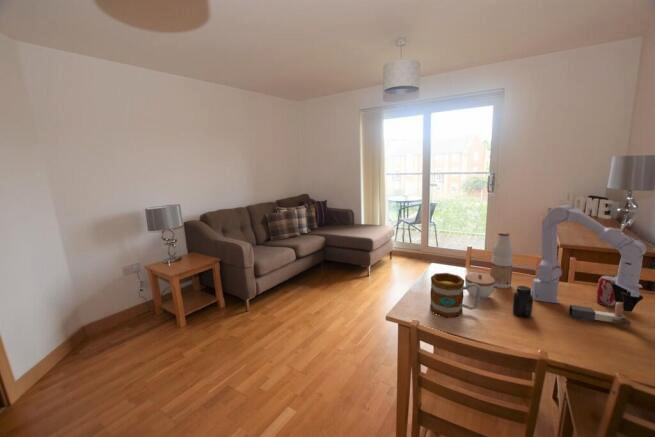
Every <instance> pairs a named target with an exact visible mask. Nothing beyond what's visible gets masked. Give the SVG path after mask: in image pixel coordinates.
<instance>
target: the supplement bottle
mask: <svg viewBox="0 0 655 437" xmlns="http://www.w3.org/2000/svg"><path fill="white" fill-rule="evenodd" d="M531 290H532V288H531V287H529V286H525V285H517V286H516V292H514V293H513V300H512V314H513V315H514V316H516V317H518V318H522V319H530V318H532V315H533V306H534V304H533V303H534V299H533V296H532V294H531Z"/></svg>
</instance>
